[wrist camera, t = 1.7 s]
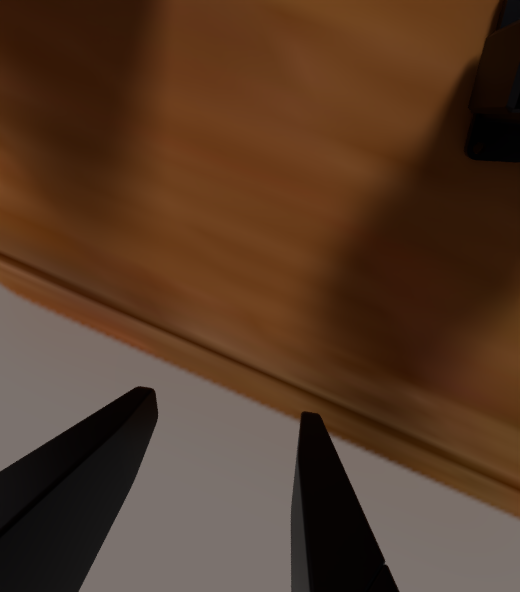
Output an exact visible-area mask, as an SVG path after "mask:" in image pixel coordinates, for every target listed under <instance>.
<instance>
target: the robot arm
mask: <svg viewBox="0 0 520 592" xmlns="http://www.w3.org/2000/svg"><path fill="white" fill-rule="evenodd" d="M468 108H469V109H470V111H471V113H473V117H472V121H471V125H470V128H469V132H468V136H467V139H466V143H465V147H464V152H465V155H466V156H467V157H468V158H470V159H473V160H481V161H501V162H520V0H504V2H503V6H502V10H501V13H500V17H499V21H498V24H497V28H496V31H495V32H493V33H492V34H491V35H490V36H489V37H488V38H487V39H486V41H485V44H484V48H483V52H482V56H481V59H480V63H479V67H478V71H477V75H476V78H475V82H474V86H473V90H472V94H471V98H470V101H469V105H468ZM478 142H481V143H482V145H483V146H482V149H481V151H480V152H478V153H474V152H473V147H474V145H475V144H477V143H478ZM157 419H158V409H157V402H156V393H155V391H154V389H152V388H148V387H141V386H140V387H139V386H138V387H136V388H134V389H132V390H130V391H129V392H128V393H126V394H124V395H123V396H121V397H119V398H118V399H116V400H114V401H113V402H111V403H110V404H108V405H106V406H105V407H103V408H102V409H100V410H98V411H97V412H95V413H94V414H92V415H90V416H89V417H87V418H86V419H84V420H82V421H81V422H79V423H77V424H76V425H74V426H73V427H71V428H69V429H68V430H66V431H65V432H63V433H61V434H60V435H58V436H56V437H55V438H53V439H52V440H50V441H48V442H47V443H45V444H44V445H42V446H40V447H39V448H37V449H36V450H34V451H32V452H31V453H29V454H28V455H26V456H24V457H23V458H21V459H20V460H18V461H16V462H15V463H13V464H11V465H10V466H9V467H7V468H5V469H3V470H2V471H0V592H79V589H80V588H81V586H82V584H83V582H84V580H85V578H86V576H87V574H88V572H89V570H90V568H91V566H92V564H93V562H94V560H95V558H96V556H97V554H98V552H99V550H100V548H101V546H102V544H103V542H104V540H105V538H106V536H107V534H108V532H109V530H110V528H111V526H112V524H113V522H114V520H115V518H116V516H117V514H118V513H119V511H120V509H121V507H122V505H123V503H124V500H125V499H126V496H127V495H128V493H129V491H130V489H131V486H132V484H133V482H134V480H135V477H136V475H137V473H138V470H139V467H140V464H141V462H142V460H143V457H144V454H145V452H146V449H147V446H148V444H149V441H150V439H151V436H152V433H153V431H154V428H155V426H156V423H157ZM384 564H385V559H384V557H383V554H382V552H381V550H380V548H379V546H378V543H377V541H376V539H375V537H374V534H373V532H372V530H371V528H370V526H369V523H368V521H367V519H366V517H365V514H364V512H363V510H362V508H361V505H360V503H359V501H358V499H357V496H356V494H355V492H354V490H353V487H352V485H351V483H350V481H349V479H348V476H347V474H346V472H345V470H344V467H343V465H342V463H341V461H340V459H339V456H338V454H337V452H336V450H335V447H334V445H333V443H332V441H331V438H330V436H329V434H328V432H327V429H326V427H325V425H324V423H323V420H322V418H321V416H320V415H319V414H318V413H312V412H306V411H304V412H302V413H301V420H300V430H299V438H298V447H297V457H296V466H295V477H294V486H293V496H292V506H291V590H292V591H291V592H399V590H398V587H397V585H396V583H395V581H394V579H393V576H392V574H391V572H390V570H389V567H388V566H387V565H384Z"/></svg>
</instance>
